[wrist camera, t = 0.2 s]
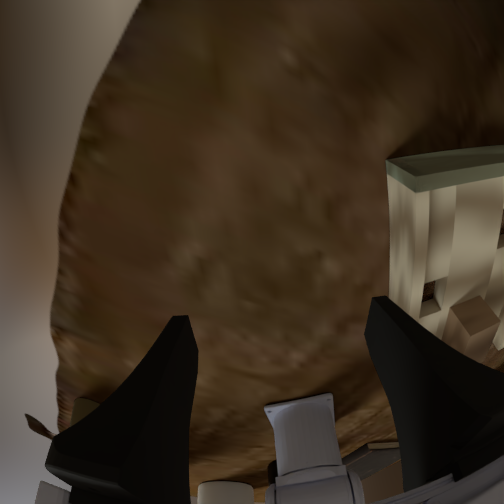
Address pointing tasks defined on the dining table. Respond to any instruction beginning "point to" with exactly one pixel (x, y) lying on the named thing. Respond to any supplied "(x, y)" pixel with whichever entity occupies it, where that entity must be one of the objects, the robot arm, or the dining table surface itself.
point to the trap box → (447, 232)
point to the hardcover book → (372, 458)
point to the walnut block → (471, 328)
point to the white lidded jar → (225, 493)
